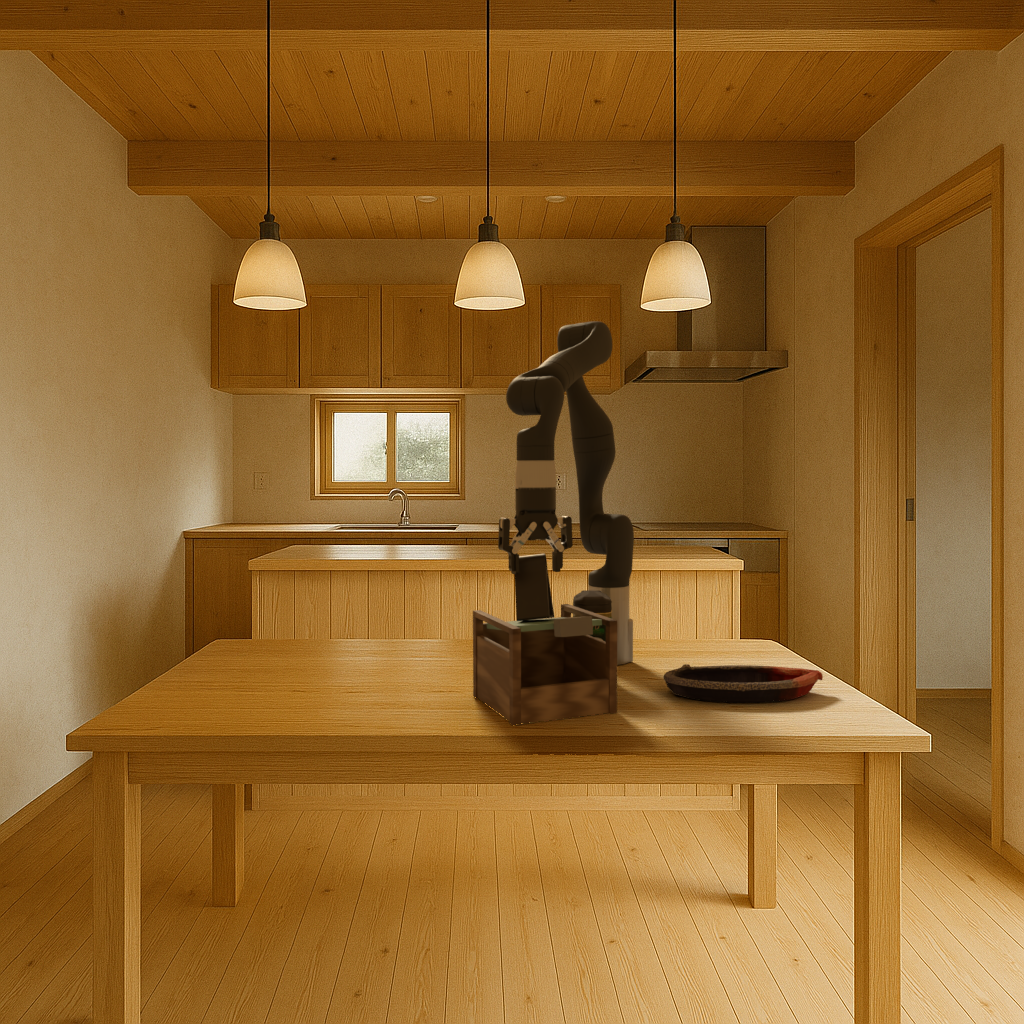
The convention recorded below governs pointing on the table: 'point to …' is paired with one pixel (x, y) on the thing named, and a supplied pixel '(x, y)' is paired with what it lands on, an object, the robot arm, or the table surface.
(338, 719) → the table surface
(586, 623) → the trapdoor
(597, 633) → the coffee jar
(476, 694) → the wooden crate
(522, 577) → the phone stand
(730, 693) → the dish
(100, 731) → the table surface
